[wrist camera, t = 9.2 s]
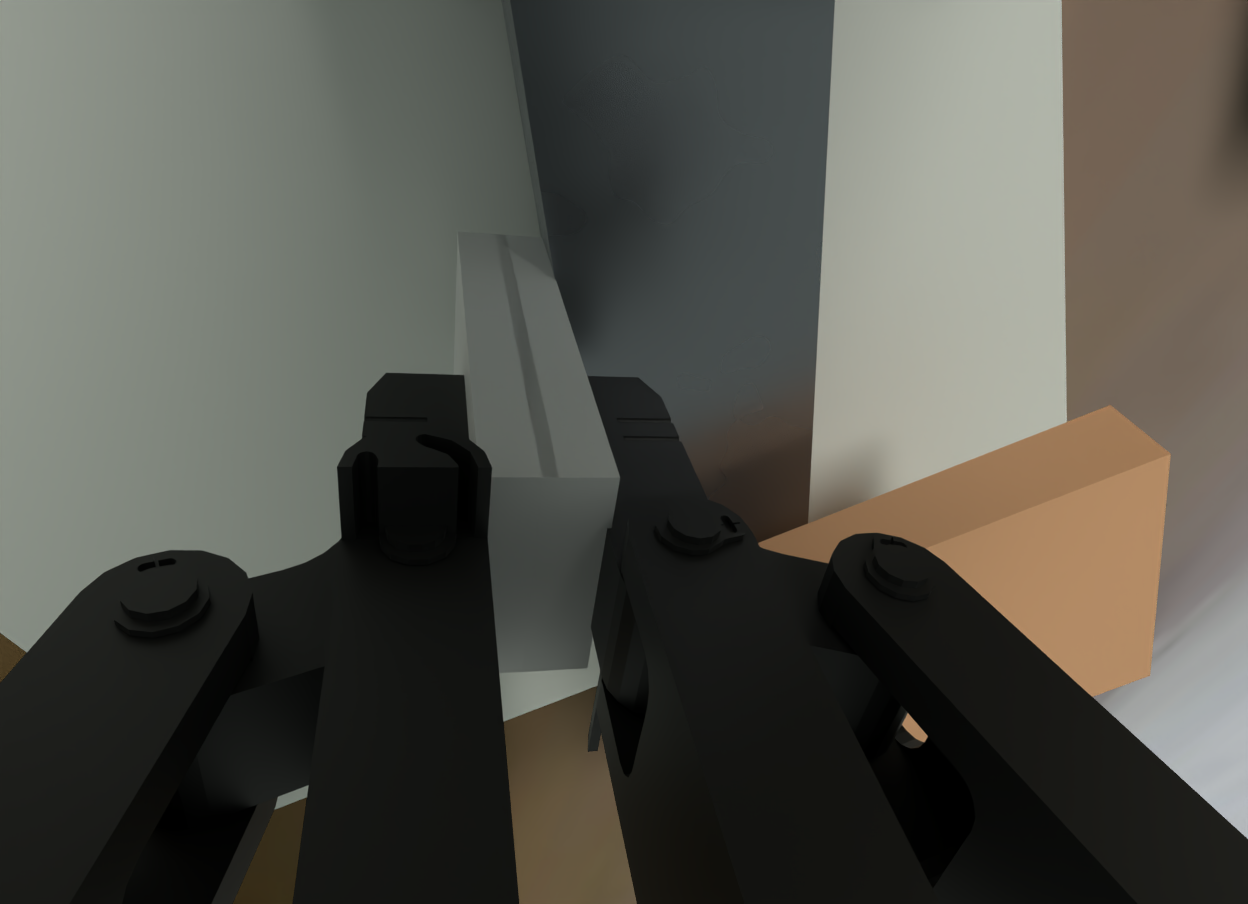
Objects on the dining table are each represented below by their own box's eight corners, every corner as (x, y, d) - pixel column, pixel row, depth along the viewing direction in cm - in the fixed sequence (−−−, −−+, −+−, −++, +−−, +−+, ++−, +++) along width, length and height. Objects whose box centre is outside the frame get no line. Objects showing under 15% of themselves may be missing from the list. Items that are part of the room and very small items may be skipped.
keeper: (944, 270, 18) (1170, 453, 12) (970, 496, 22) (1147, 708, 17) (609, 407, 18) (681, 642, 13) (698, 602, 23) (781, 841, 17)
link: (276, -741, 8) (165, -1139, 5) (853, -774, 9) (1097, -1155, 5) (547, 543, 18) (568, 685, 15) (799, 494, 19) (871, 621, 16)
